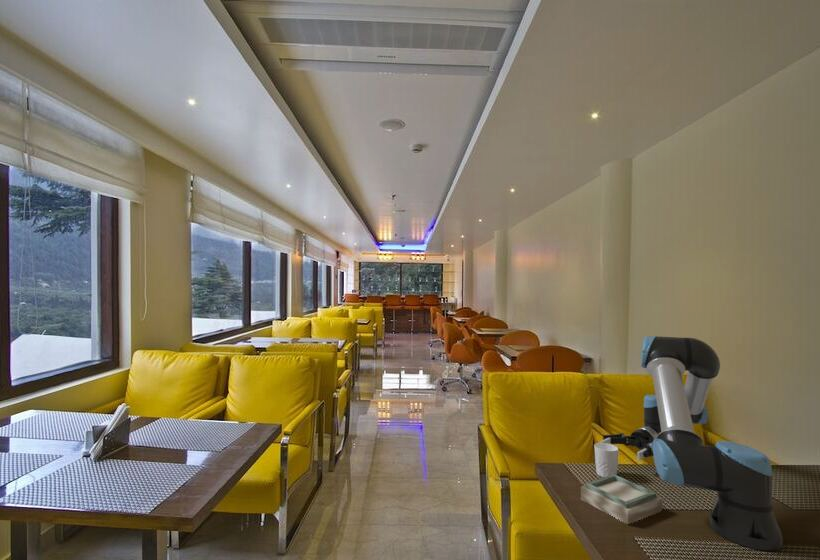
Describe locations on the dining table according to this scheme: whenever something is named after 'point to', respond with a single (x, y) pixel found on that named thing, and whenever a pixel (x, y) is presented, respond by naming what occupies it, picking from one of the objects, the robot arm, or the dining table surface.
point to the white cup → (606, 459)
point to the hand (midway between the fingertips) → (619, 450)
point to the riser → (621, 498)
